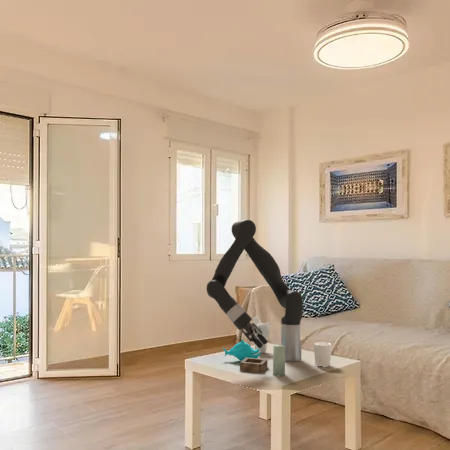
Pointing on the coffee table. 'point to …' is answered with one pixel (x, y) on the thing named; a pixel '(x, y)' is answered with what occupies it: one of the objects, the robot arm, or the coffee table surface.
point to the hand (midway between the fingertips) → (263, 345)
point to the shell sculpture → (265, 332)
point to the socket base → (253, 364)
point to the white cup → (322, 353)
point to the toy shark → (243, 351)
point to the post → (279, 360)
